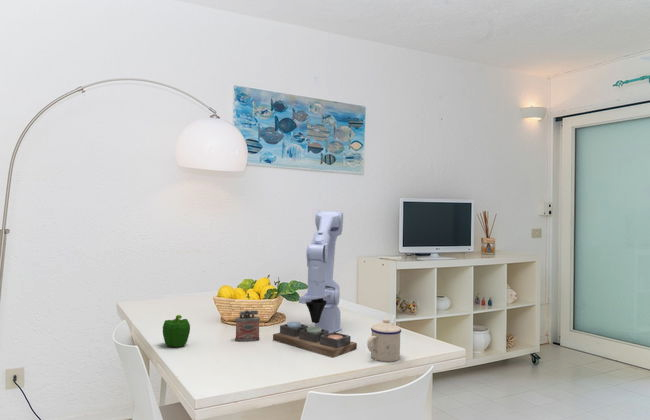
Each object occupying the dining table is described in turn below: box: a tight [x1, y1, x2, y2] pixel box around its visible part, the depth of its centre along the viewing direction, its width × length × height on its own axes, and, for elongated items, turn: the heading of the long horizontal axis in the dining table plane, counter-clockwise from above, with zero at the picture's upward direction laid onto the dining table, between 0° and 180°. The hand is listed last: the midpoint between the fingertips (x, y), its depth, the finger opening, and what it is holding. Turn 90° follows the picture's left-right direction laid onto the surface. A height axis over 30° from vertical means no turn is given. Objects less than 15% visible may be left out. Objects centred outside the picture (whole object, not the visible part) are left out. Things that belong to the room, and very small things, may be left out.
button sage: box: [307, 325, 321, 334], centre depth 156 cm, size 5×5×2 cm
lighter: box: [234, 309, 261, 343], centre depth 159 cm, size 8×3×10 cm, turn 105°
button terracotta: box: [328, 335, 343, 339], centre depth 150 cm, size 5×5×2 cm
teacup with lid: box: [366, 318, 402, 363], centre depth 144 cm, size 12×9×12 cm
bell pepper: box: [162, 314, 191, 348], centre depth 151 cm, size 8×8×10 cm
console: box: [272, 323, 358, 358], centre depth 156 cm, size 12×26×5 cm, turn 50°
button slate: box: [286, 321, 302, 329], centre depth 162 cm, size 5×5×2 cm
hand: (315, 322), depth 156 cm, fingers closed
